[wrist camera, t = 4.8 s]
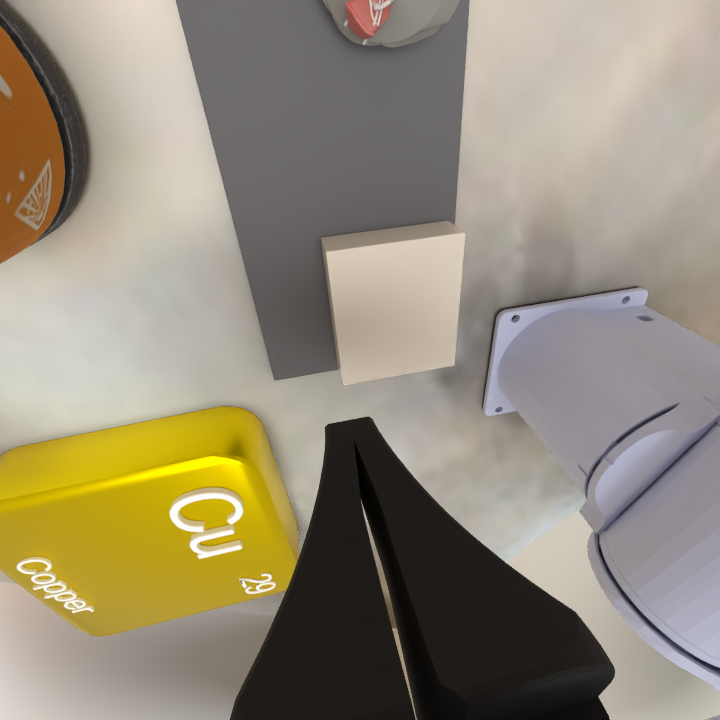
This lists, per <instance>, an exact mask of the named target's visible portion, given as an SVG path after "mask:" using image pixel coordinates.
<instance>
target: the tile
mask: <svg viewBox="0 0 720 720" xmlns="http://www.w3.org/2000/svg"><path fill="white" fill-rule="evenodd" d="M465 233H466V232H464V231H463V230H461V229H460V228H458V227H457V226H455V225H454V224H452V223H451V222H449V221H441V222H433V223H426V224H418V225H411V226H403V227H396V228H388V229H381V230H374V231H366V232H359V233H351V234H344V235H336V236H329V237H321V244H322V251H323V259H324V266H325V274H326V281H327V288H328V296H329V303H330V311H331V318H332V326H333V333H334V341H335V348H336V356H337V363H338V367H339V371H340V375H341V379H342V383H343V386H344V385H349V384H355V383H360V382H366V381H371V380H377V379H382V378H388V377H394V376H399V375H405V374H410V373H416V372H421V371H427V370H432V369H438V368H443V367H449V366H454V364H455V352H456V340H457V328H458V316H459V305H460V293H461V281H462V269H463V257H464V245H465Z"/></svg>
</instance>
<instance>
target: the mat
mask: <svg viewBox="0 0 720 720" xmlns="http://www.w3.org/2000/svg"><path fill="white" fill-rule="evenodd" d="M469 1H470V0H460V1H459V3H458V5H457V8H456V10H455V11H454V13H453V15H452V16H451V18H450V20H449V21H448V22H447V23H445V24H442V25H441V26H440V28H439V29H438V30H437V32H436V33H434V34H432V35H430V36H428V37H426V38H424V39H421V40H419V41H417V42H414V43H411V44H407V45H403V46H399V47H387V46H383V45H372V46H370V45H363V44H358V43H354V42H352V41H351V40H350V39H348V38H347V37H346V36H345V35H344V34H343V33H342V32H341V31H340V30H339V28H338V27H337V25H336V23H335V21H334V19H333V17H332V14H331V12H330V11H329V10H328V9H327V8H326V6H325V4H324V2H323V0H176V3H177V7H178V11H179V14H180V18H181V22H182V26H183V30H184V34H185V38H186V41H187V45H188V49H189V53H190V57H191V61H192V65H193V68H194V72H195V76H196V80H197V84H198V88H199V91H200V95H201V99H202V103H203V107H204V111H205V115H206V118H207V122H208V126H209V130H210V134H211V138H212V142H213V145H214V149H215V153H216V157H217V161H218V165H219V169H220V172H221V176H222V180H223V184H224V188H225V192H226V195H227V199H228V203H229V207H230V211H231V215H232V219H233V222H234V226H235V230H236V234H237V238H238V242H239V246H240V249H241V253H242V257H243V261H244V265H245V269H246V273H247V276H248V280H249V284H250V288H251V292H252V296H253V299H254V303H255V307H256V311H257V315H258V319H259V323H260V326H261V330H262V334H263V338H264V342H265V346H266V350H267V353H268V357H269V361H270V365H271V369H272V373H273V377H274V380H281V379H286V378H292V377H298V376H303V375H309V374H315V373H320V372H326V371H332V370H338V369H339V367H338V363H337V356H336V348H335V341H334V333H333V326H332V318H331V311H330V303H329V296H328V288H327V281H326V274H325V266H324V259H323V251H322V244H321V237H329V236H336V235H344V234H351V233H359V232H366V231H374V230H381V229H388V228H396V227H403V226H411V225H418V224H426V223H433V222H441V221H449V222H451V223H452V224H454V225H455V210H456V195H457V180H458V165H459V150H460V135H461V120H462V105H463V90H464V75H465V60H466V46H467V31H468V16H469Z"/></svg>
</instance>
